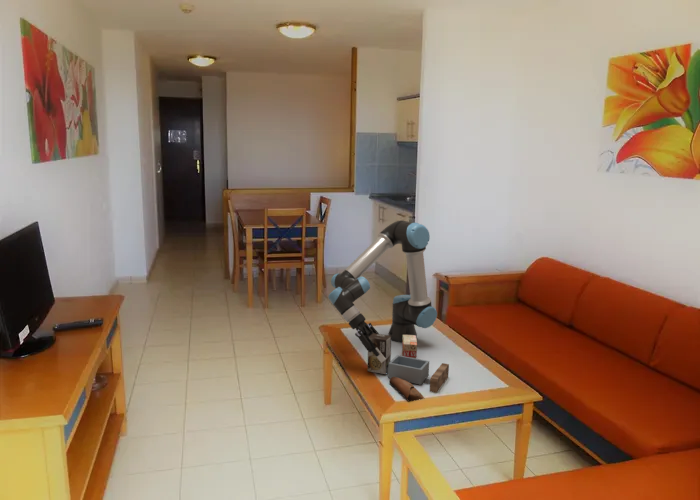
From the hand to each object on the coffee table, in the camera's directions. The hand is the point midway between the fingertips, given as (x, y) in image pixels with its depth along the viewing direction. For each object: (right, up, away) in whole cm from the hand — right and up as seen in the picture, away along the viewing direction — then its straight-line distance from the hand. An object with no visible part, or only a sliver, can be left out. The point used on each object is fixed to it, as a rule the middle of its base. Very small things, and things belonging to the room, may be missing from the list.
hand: (386, 358), depth 242 cm
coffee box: (-3, -6, +3) cm, 8 cm away
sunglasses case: (+7, -11, -16) cm, 21 cm away
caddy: (+9, -8, -3) cm, 13 cm away
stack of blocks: (+12, -5, +17) cm, 21 cm away
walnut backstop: (+22, -9, -9) cm, 25 cm away
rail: (+12, -8, -4) cm, 15 cm away
